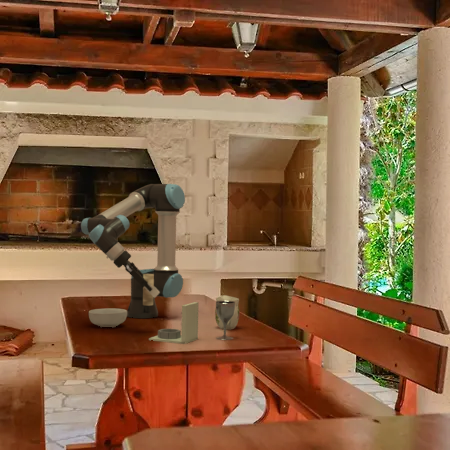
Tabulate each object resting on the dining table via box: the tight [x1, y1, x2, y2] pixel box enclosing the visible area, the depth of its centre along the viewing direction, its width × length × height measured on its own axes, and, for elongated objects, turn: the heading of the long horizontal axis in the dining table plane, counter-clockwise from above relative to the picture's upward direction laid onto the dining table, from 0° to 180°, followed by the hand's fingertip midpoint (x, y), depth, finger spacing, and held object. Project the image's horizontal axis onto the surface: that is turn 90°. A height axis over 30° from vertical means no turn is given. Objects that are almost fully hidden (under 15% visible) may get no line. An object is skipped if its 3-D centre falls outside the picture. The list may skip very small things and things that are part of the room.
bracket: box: [148, 301, 200, 345], centre depth 279 cm, size 16×12×15 cm
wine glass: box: [215, 300, 235, 341], centre depth 285 cm, size 8×8×15 cm
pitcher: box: [214, 294, 240, 331], centre depth 308 cm, size 11×18×14 cm, turn 10°
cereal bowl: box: [88, 307, 128, 328], centre depth 308 cm, size 17×17×7 cm
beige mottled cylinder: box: [143, 274, 154, 306], centre depth 294 cm, size 4×4×13 cm
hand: (157, 294), depth 294 cm, fingers closed on beige mottled cylinder, 4 cm apart
